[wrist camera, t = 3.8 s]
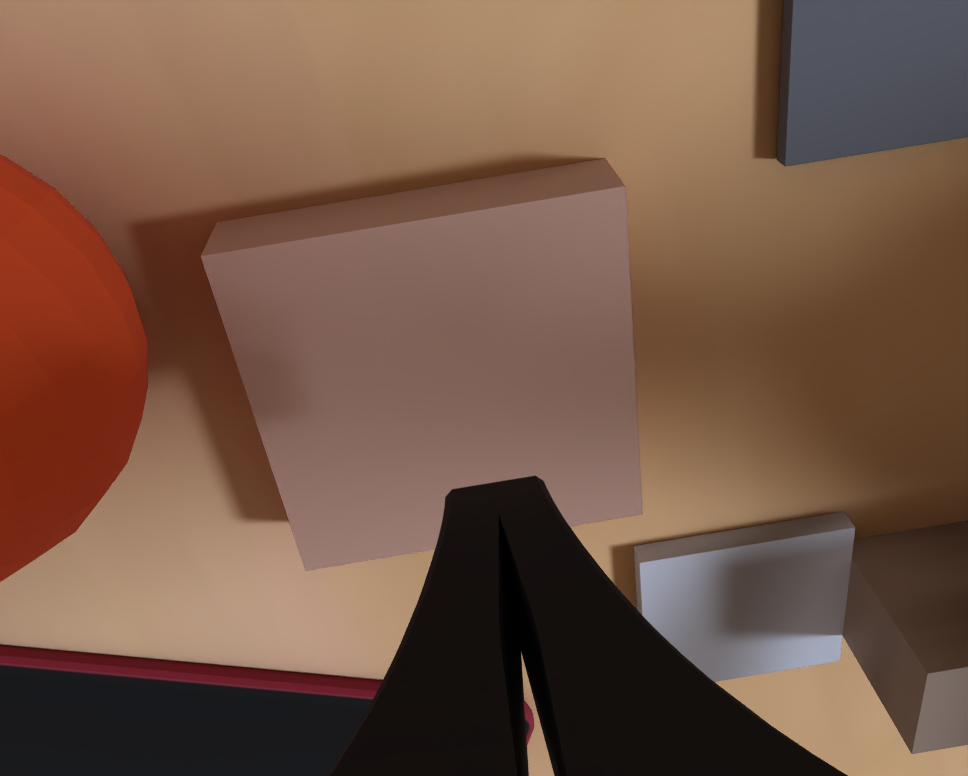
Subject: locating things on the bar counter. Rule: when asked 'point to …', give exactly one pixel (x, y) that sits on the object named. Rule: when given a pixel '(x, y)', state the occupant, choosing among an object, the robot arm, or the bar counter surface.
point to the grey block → (824, 610)
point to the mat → (870, 76)
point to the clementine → (60, 368)
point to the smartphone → (171, 717)
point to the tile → (436, 352)
